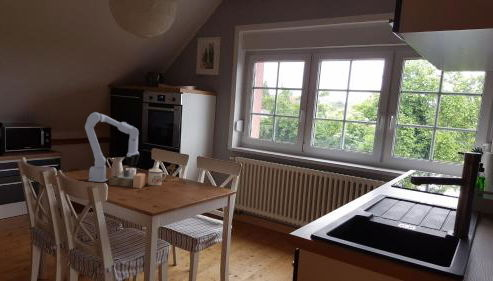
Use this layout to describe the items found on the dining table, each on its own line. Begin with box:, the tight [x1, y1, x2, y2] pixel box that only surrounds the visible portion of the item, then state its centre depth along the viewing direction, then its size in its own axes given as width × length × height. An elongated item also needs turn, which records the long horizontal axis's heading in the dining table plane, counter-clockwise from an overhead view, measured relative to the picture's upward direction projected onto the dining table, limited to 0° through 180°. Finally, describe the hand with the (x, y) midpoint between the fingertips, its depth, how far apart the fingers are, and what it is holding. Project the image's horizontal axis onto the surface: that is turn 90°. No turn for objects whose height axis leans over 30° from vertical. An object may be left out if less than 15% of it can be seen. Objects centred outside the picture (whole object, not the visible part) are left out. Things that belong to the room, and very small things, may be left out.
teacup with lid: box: [147, 166, 167, 187], centre depth 227 cm, size 12×9×12 cm
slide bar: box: [117, 169, 134, 180], centre depth 217 cm, size 14×3×7 cm, turn 86°
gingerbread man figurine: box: [164, 163, 180, 183], centre depth 241 cm, size 9×4×12 cm, turn 129°
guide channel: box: [108, 175, 133, 188], centre depth 218 cm, size 15×6×4 cm, turn 86°
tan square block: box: [132, 172, 146, 189], centre depth 217 cm, size 4×8×8 cm, turn 176°
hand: (132, 166), depth 230 cm, fingers open, 7 cm apart
